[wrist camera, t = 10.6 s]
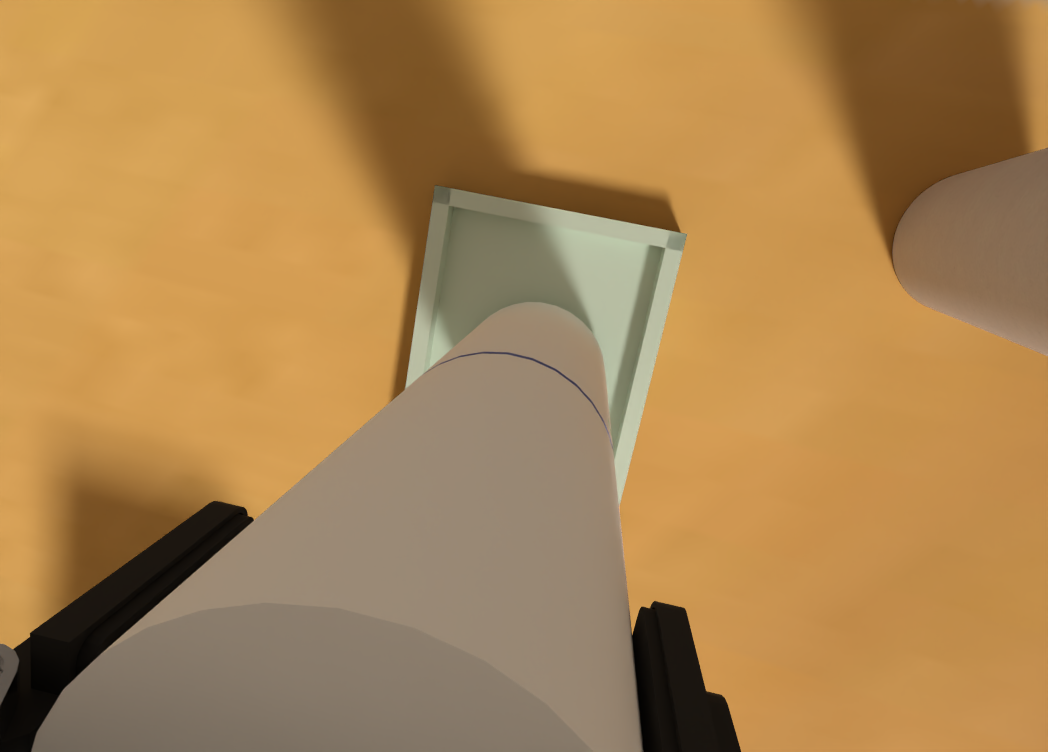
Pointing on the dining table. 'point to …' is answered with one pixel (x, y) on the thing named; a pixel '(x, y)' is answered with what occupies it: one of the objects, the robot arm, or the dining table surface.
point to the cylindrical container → (406, 583)
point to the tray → (550, 288)
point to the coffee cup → (982, 249)
